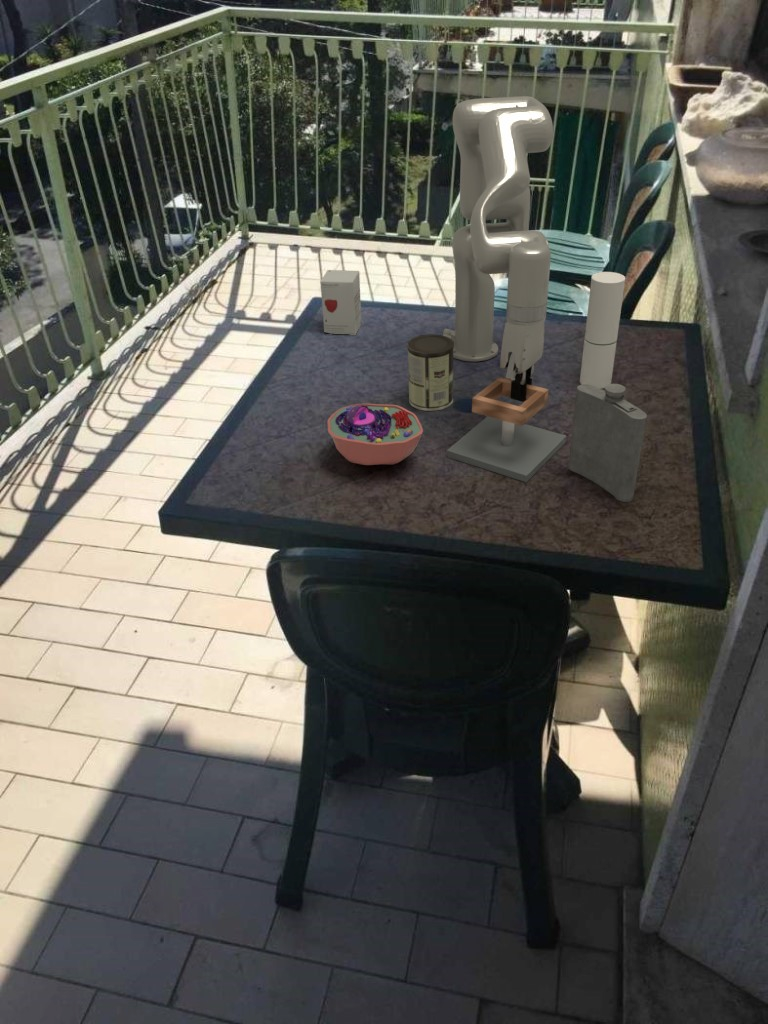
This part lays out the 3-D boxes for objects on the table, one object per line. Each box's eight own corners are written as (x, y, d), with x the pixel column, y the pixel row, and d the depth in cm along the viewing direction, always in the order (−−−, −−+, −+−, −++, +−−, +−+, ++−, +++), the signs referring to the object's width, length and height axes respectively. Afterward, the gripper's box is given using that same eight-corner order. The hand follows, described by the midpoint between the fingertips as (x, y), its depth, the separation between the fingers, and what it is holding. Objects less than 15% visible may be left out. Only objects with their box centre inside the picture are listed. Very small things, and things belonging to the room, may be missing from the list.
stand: (446, 456, 166) (447, 424, 162) (489, 420, 178) (491, 389, 174) (526, 482, 157) (528, 449, 153) (566, 442, 169) (569, 410, 165)
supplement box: (323, 335, 219) (318, 280, 211) (330, 322, 227) (326, 269, 218) (356, 336, 218) (353, 281, 209) (362, 323, 225) (359, 269, 217)
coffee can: (428, 386, 192) (428, 330, 184) (462, 399, 186) (463, 341, 178) (398, 402, 186) (397, 344, 178) (433, 416, 180) (433, 357, 172)
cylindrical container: (609, 375, 194) (623, 271, 179) (612, 388, 188) (627, 283, 173) (578, 374, 194) (590, 271, 180) (581, 388, 189) (593, 283, 174)
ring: (471, 411, 161) (472, 398, 159) (498, 390, 168) (499, 377, 166) (521, 425, 155) (522, 411, 154) (547, 402, 163) (548, 389, 161)
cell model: (396, 491, 156) (394, 440, 150) (312, 465, 166) (307, 415, 159) (439, 451, 168) (439, 402, 161) (358, 428, 177) (355, 381, 170)
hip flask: (564, 466, 161) (574, 375, 150) (580, 460, 163) (591, 369, 152) (624, 504, 150) (640, 407, 139) (640, 496, 152) (656, 401, 140)
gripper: (527, 294, 161) (521, 378, 172) (488, 320, 151) (485, 408, 162) (562, 301, 158) (554, 387, 168) (525, 328, 147) (519, 418, 158)
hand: (520, 397), depth 165 cm, fingers closed on ring, 1 cm apart
